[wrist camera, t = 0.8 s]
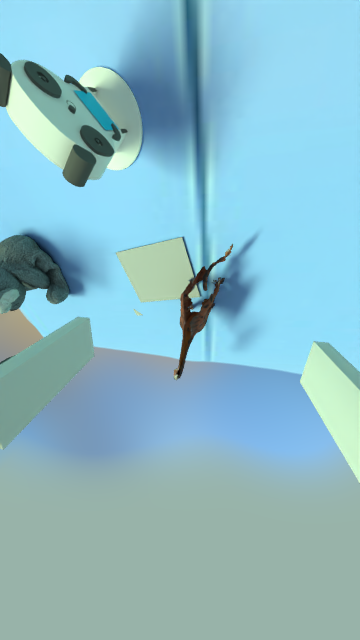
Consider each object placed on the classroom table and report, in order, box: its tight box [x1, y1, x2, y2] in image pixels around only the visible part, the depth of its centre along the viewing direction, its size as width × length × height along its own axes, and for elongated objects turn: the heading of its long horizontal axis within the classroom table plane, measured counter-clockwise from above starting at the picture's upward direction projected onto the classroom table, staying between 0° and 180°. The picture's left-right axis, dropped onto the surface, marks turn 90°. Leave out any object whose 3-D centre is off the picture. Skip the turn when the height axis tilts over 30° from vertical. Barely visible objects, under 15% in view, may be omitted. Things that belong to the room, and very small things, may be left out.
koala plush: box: [0, 235, 69, 314], centre depth 51 cm, size 17×18×20 cm
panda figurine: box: [0, 53, 143, 187], centre depth 27 cm, size 12×11×15 cm
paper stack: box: [116, 237, 200, 315], centre depth 52 cm, size 23×25×1 cm
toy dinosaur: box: [174, 243, 233, 380], centre depth 43 cm, size 8×30×15 cm, turn 174°
